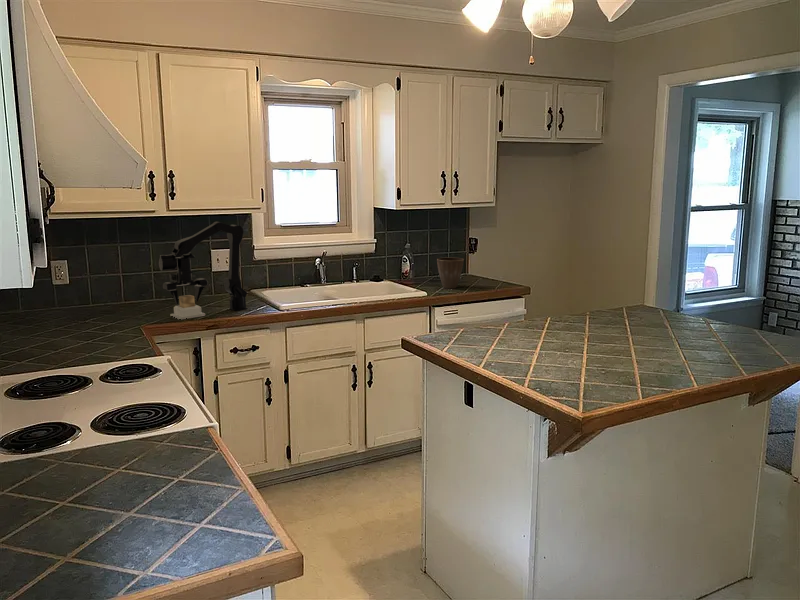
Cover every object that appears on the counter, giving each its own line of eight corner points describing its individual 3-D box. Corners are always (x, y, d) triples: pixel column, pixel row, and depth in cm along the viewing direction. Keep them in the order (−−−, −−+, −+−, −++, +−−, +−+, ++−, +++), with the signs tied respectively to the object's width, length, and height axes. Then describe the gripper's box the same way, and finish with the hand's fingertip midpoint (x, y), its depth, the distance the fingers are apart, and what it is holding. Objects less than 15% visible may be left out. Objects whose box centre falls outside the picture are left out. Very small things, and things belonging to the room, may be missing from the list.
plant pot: (450, 284, 366) (451, 256, 363) (469, 287, 355) (469, 258, 352) (431, 287, 357) (431, 258, 354) (449, 290, 346) (449, 261, 343)
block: (190, 305, 292) (189, 294, 291) (195, 307, 288) (194, 296, 287) (179, 307, 289) (178, 296, 288) (184, 308, 285) (183, 297, 284)
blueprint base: (196, 312, 297) (195, 302, 296) (205, 315, 290) (204, 305, 289) (170, 316, 289) (169, 306, 288) (179, 319, 282) (178, 309, 281)
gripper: (196, 264, 297) (199, 297, 300) (156, 268, 285) (159, 303, 288) (207, 267, 289) (209, 301, 292) (166, 271, 277) (169, 306, 280)
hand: (187, 302), depth 288 cm, fingers open, 9 cm apart
